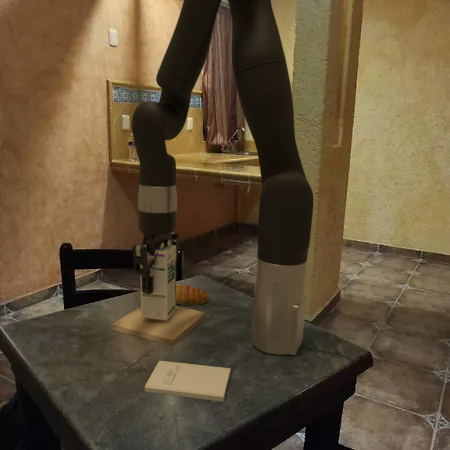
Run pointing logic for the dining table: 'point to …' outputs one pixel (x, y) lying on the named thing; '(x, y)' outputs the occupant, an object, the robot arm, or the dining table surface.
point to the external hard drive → (189, 380)
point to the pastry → (190, 295)
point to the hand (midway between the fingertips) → (157, 287)
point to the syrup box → (161, 286)
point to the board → (160, 325)
